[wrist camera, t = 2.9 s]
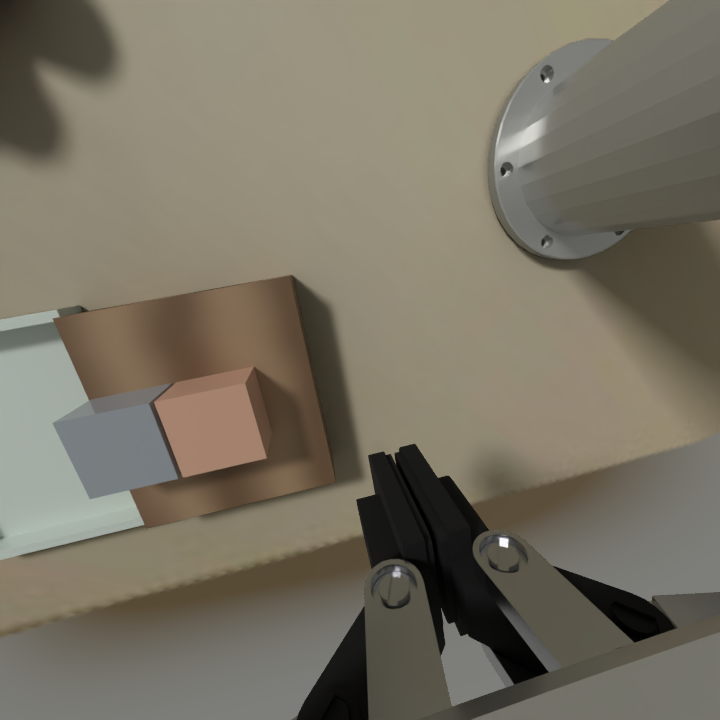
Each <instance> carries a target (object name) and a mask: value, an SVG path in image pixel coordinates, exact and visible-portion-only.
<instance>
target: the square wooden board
mask: <svg viewBox="0 0 720 720" xmlns="http://www.w3.org/2000/svg"><path fill="white" fill-rule="evenodd" d="M52 319H53V321H54V323H55V325H56V328H57V330H58V332H59V334H60V337H61V339H62V341H63V343H64V346H65V348H66V350H67V352H68V354H69V357H70V359H71V361H72V363H73V366H74V368H75V370H76V372H77V375H78V377H79V379H80V381H81V384H82V386H83V388H84V390H85V393H86V395H87V397H88V399H89V400H91V399H96V398H101V397H106V396H111V395H116V394H121V393H126V392H131V391H135V390H140V389H145V388H150V387H155V386H160V385H165V384H170V383H172V384H173V385H174V384H175V383H176V382H180V381H185V380H190V379H195V378H200V377H204V376H209V375H214V374H219V373H224V372H229V371H234V370H239V369H244V368H249V367H254V369H255V372H256V376H257V380H258V383H259V387H260V390H261V394H262V398H263V401H264V405H265V409H266V412H267V416H268V419H269V423H270V427H271V430H272V435H271V440H270V445H269V450H268V455H267V458H266V459H262V460H257V461H253V462H249V463H244V464H240V465H236V466H231V467H227V468H223V469H219V470H214V471H210V472H206V473H201V474H197V475H193V476H188V477H184V478H183V476H182V474H181V475H180V477H179V478H178V479H175V480H171V481H167V482H162V483H158V484H154V485H149V486H145V487H141V488H137V489H132V490H129V491H130V493H131V495H132V498H133V500H134V502H135V504H136V507H137V509H138V511H139V513H140V516H141V518H142V520H143V522H144V524H145V527H146V529H147V528H151V527H155V526H159V525H163V524H167V523H171V522H175V521H179V520H183V519H187V518H192V517H196V516H200V515H204V514H208V513H212V512H216V511H220V510H224V509H228V508H233V507H237V506H241V505H245V504H249V503H253V502H257V501H261V500H265V499H269V498H273V497H278V496H282V495H286V494H290V493H294V492H298V491H302V490H306V489H310V488H314V487H319V486H323V485H327V484H331V483H335V482H336V479H335V472H334V464H333V458H332V453H331V449H330V444H329V439H328V435H327V430H326V426H325V421H324V417H323V412H322V408H321V403H320V399H319V394H318V390H317V385H316V381H315V376H314V372H313V367H312V363H311V358H310V354H309V349H308V345H307V340H306V336H305V331H304V327H303V322H302V318H301V313H300V309H299V304H298V300H297V295H296V291H295V286H294V282H293V277H292V275H289V276H283V277H278V278H272V279H267V280H261V281H255V282H250V283H244V284H238V285H233V286H227V287H221V288H216V289H210V290H205V291H199V292H193V293H188V294H182V295H176V296H171V297H165V298H159V299H154V300H148V301H143V302H137V303H131V304H126V305H120V306H114V307H109V308H103V309H97V310H92V311H86V312H82V313H77V314H72V315H67V316H62V317H57V318H52Z"/></svg>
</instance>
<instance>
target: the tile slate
mask: <svg viewBox="0 0 720 720" xmlns="http://www.w3.org/2000/svg"><path fill="white" fill-rule="evenodd" d="M172 386H173V384H172V383H170V384H165V385H160V386H155V387H150V388H145V389H140V390H135V391H131V392H126V393H121V394H116V395H111V396H106V397H101V398H96V399H91V400H89V401H88V402H86V403H84V404H83V405H81V406H80V407H78V408H76V409H75V410H73V411H71V412H70V413H68V414H67V415H65V416H63V417H62V418H60V419H58V420H57V421H55V422H54V423H52V424H53V426H54V428H55V430H56V432H57V434H58V436H59V438H60V440H61V442H62V444H63V446H64V448H65V450H66V452H67V454H68V456H69V458H70V460H71V462H72V464H73V466H74V468H75V470H76V472H77V474H78V476H79V478H80V480H81V482H82V484H83V486H84V488H85V490H86V492H87V494H88V496H89V499H93V498H98V497H102V496H106V495H111V494H115V493H119V492H124V491H128V490H132V489H137V488H141V487H145V486H149V485H154V484H158V483H162V482H167V481H171V480H175V479H178V478H179V477H180V475H181V471H180V469H179V466H178V463H177V461H176V458H175V456H174V453H173V450H172V448H171V445H170V443H169V440H168V437H167V435H166V432H165V429H164V427H163V424H162V422H161V419H160V416H159V414H158V411H157V409H156V406H155V403H154V402H155V401H156V400H157V399H158V398H159V397H160V396H161V395H163V394H164V393H165V392H166V391H167V390H168V389H169V388H170V387H172Z"/></svg>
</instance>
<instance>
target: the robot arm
mask: <svg viewBox="0 0 720 720" xmlns="http://www.w3.org/2000/svg"><path fill="white" fill-rule="evenodd" d="M500 170H501V171H502V175H501V172H500ZM488 184H489V190H490V196H491V201H492V203H493V206H494V209H495V212H496V214H497V217H498V219H499V220H500V222H501V224H502V225H503V227H504V229H505V231H506V232H507V233H508V234H509V235H510V236H511V237H512V239H513V240H514V241H515V242H516V243H517V244H518V245H520V246H521V247H523V248H524V249H526V250H527V251H529V252H530V253H533V254H535V255H538V256H540V257H543V258H549V259H556V260H567V259H579V258H585V257H590V256H592V255H595V254H597V253H600V252H602V251H605V250H606V249H608V248H609V247H611V246H613V245H614V244H616V243H617V242H619V241H620V240H621V239H622V238H624V237H625V236H626V235H627V234H628V233H629V232H630V231H631V230H633V229H642V228H650V227H659V226H668V225H677V224H686V223H694V222H703V221H712V220H720V0H669V1H668V2H666V3H665V4H664V5H662V6H661V7H660V8H658V9H657V10H656V11H654V12H653V13H651V14H650V15H649V16H647V17H646V18H645V19H643V20H642V21H641V22H639V23H638V24H636V25H635V26H634V27H632V28H631V29H630V30H628V31H627V32H626V33H624V34H623V35H621V36H620V37H619V38H617V39H616V40H615V41H613V40H610V39H596V38H588V39H584V40H580V41H576V42H572V43H569V44H567V45H565V46H563V47H561V48H559V49H557V50H555V51H553V52H552V53H550V54H549V55H548V56H547V57H545V58H544V59H543V60H542V61H540V62H539V63H538V64H537V65H535V66H534V67H533V68H532V69H531V70H530V71H529V72H528V73H527V74H526V75H525V76H524V77H523V78H522V79H521V80H520V81H519V82H518V84H517V85H516V87H515V88H514V89H513V91H512V92H511V94H510V95H509V96H508V98H507V100H506V102H505V104H504V106H503V108H502V110H501V112H500V114H499V116H498V118H497V121H496V124H495V127H494V130H493V134H492V137H491V141H490V148H489V154H488ZM368 457H369V463H370V468H371V474H372V479H373V485H374V490H375V495H372V496H368V497H364V498H360V499H357V500H356V501H357V506H358V511H359V516H360V520H361V525H362V530H363V534H364V539H365V543H366V547H367V552H368V556H369V560H370V564H371V568H372V570H371V571H370V572H369V574H368V576H367V578H366V580H365V586H364V602H365V603H364V605H365V606H364V607H363V609H362V611H361V612H360V614H359V615H358V617H357V619H356V620H355V622H354V623H353V625H352V626H351V628H350V630H349V631H348V633H347V635H346V636H345V638H344V639H343V641H342V642H341V644H340V646H339V647H338V649H337V650H336V652H335V654H334V655H333V657H332V658H331V660H330V662H329V663H328V665H327V666H326V668H325V670H324V671H323V673H322V674H321V676H320V678H319V679H318V681H317V682H316V684H315V686H314V687H313V689H312V690H311V692H310V693H309V695H308V697H307V698H306V700H305V702H304V704H303V706H302V708H301V710H300V712H299V714H298V716H297V717H295V718H293V719H292V720H720V592H714V593H695V594H676V595H658V596H652V601H647V600H645V599H643V598H641V597H639V596H636V595H634V594H632V593H629V592H626V591H624V590H621V589H618V588H615V587H612V586H609V585H606V584H603V583H601V582H598V581H595V580H592V579H589V578H586V577H583V576H580V575H578V574H575V573H572V572H569V571H566V570H563V569H560V568H558V567H555V566H552V565H551V564H550V563H549V562H548V561H546V559H544V558H543V557H542V556H541V555H540V554H539V553H538V552H537V551H536V550H535V549H534V548H533V547H532V546H530V545H529V544H528V543H527V542H526V541H525V540H523V539H522V538H521V537H520V536H518V535H516V534H514V533H511V532H508V531H504V530H490V531H489V529H488V528H487V527H486V525H485V524H484V523H483V521H482V520H481V518H480V517H479V516H478V514H477V513H476V512H475V510H474V509H473V508H472V506H471V505H470V503H469V502H468V501H467V499H466V498H465V496H464V495H463V494H462V492H461V491H460V490H459V488H458V487H457V485H456V484H455V483H454V481H453V480H452V479H451V478H450V476H444V477H440V478H437V476H436V475H435V473H434V472H433V470H432V469H431V467H430V466H429V464H428V463H427V461H426V459H425V458H424V456H423V455H422V453H421V452H420V450H419V449H418V447H417V446H416V445H415V444H412V445H408V446H404V447H400V448H399V452H397V453H395V460H396V464H395V462H394V460H393V458H392V456H391V454H389V455H385V453H384V452H379V453H375V454H371V455H369V456H368ZM441 608H442V611H443V613H444V616H445V618H446V620H447V622H448V623H449V624H450V623H453V622H455V624H456V627H457V629H458V631H459V634H460V636H463V635H466V634H468V635H469V637H471V638H473V639H475V640H477V641H479V642H481V643H482V648H483V650H484V652H485V654H486V656H487V658H488V659H489V661H490V662H491V664H492V666H493V667H494V669H495V670H496V672H497V674H498V675H499V677H500V678H501V680H502V681H503V683H504V685H505V686H506V688H504V689H501V690H498V691H495V692H493V693H490V694H487V695H484V696H481V697H479V698H476V699H473V700H470V701H467V702H464V703H461V704H459V705H456V706H453V707H452V705H451V701H450V697H449V692H448V688H447V683H446V679H445V674H444V670H443V666H442V661H441V654H442V651H443V649H444V646H445V639H444V632H443V619H442V612H441Z"/></svg>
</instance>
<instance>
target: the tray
mask: <svg viewBox="0 0 720 720" xmlns="http://www.w3.org/2000/svg"><path fill="white" fill-rule="evenodd" d="M82 312H83V311H82V309H81V306H75V307H69V308H64V309H58V310H52V311H46V312H41V313H35V314H29V315H24V316H18V317H12V318H7V319H1V320H0V560H1V559H6V558H10V557H14V556H18V555H22V554H26V553H30V552H34V551H39V550H43V549H47V548H51V547H55V546H59V545H63V544H67V543H71V542H76V541H80V540H84V539H88V538H92V537H96V536H100V535H104V534H108V533H113V532H117V531H121V530H125V529H129V528H133V527H137V526H141V525H145V524H144V522H143V520H142V518H141V516H140V513H139V511H138V509H137V507H136V504H135V502H134V500H133V498H132V495H131V493H130V491H129V490H128V491H124V492H119V493H115V494H111V495H106V496H102V497H98V498H93V499H89V496H88V494H87V492H86V490H85V488H84V486H83V484H82V482H81V480H80V478H79V476H78V474H77V472H76V470H75V468H74V466H73V464H72V462H71V460H70V458H69V456H68V454H67V452H66V450H65V448H64V446H63V444H62V442H61V440H60V438H59V436H58V434H57V432H56V430H55V428H54V426H53V424H52V423H54V422H55V421H57V420H58V419H60V418H62V417H63V416H65V415H67V414H68V413H70V412H71V411H73V410H75V409H76V408H78V407H80V406H81V405H83V404H84V403H86V402H88V401H89V399H88V397H87V395H86V393H85V390H84V388H83V386H82V384H81V381H80V379H79V377H78V375H77V372H76V370H75V368H74V366H73V363H72V361H71V359H70V357H69V354H68V352H67V350H66V348H65V346H64V343H63V341H62V339H61V337H60V334H59V332H58V330H57V328H56V325H55V323H54V321H53V319H52V318H57V317H62V316H67V315H72V314H77V313H82Z"/></svg>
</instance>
